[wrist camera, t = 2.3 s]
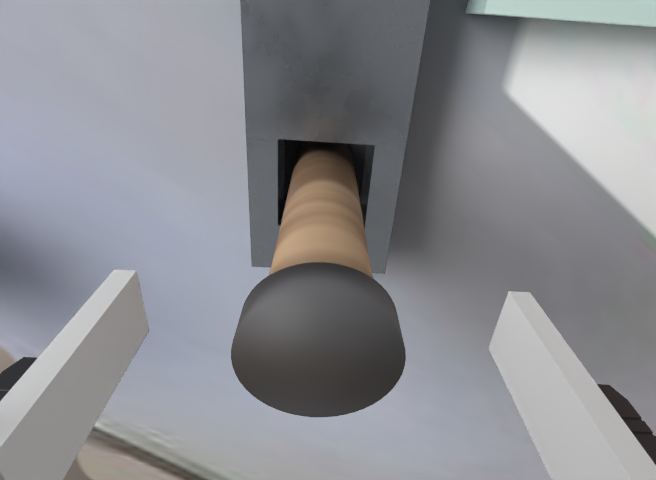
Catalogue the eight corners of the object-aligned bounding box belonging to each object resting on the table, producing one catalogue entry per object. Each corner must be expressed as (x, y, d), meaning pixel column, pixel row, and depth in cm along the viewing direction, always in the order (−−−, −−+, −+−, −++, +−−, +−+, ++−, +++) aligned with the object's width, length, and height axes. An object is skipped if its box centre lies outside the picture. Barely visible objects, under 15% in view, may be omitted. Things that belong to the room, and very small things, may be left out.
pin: (286, 124, 25) (225, 288, 10) (366, 129, 26) (420, 298, 10) (286, 197, 28) (235, 413, 13) (358, 201, 28) (391, 420, 13)
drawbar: (248, -224, 18) (228, -281, 14) (445, -206, 18) (473, -258, 14) (260, 236, 30) (251, 266, 26) (378, 243, 30) (384, 273, 26)
